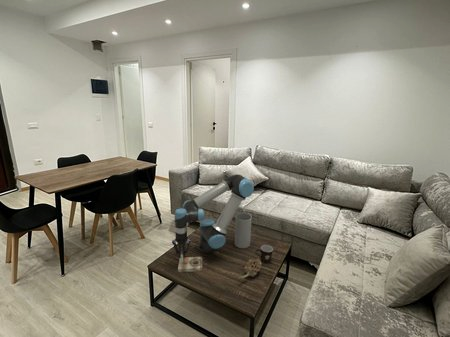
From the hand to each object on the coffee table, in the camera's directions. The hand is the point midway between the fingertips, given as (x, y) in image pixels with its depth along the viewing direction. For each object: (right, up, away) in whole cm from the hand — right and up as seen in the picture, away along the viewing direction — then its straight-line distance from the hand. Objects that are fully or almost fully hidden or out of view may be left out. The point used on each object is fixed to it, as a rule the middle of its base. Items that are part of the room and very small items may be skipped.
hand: (182, 261), depth 167 cm
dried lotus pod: (+46, -7, -7) cm, 47 cm away
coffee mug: (+58, -3, +10) cm, 59 cm away
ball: (+3, +1, 0) cm, 3 cm away
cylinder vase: (+44, +3, +28) cm, 52 cm away
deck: (+6, -3, +1) cm, 7 cm away
